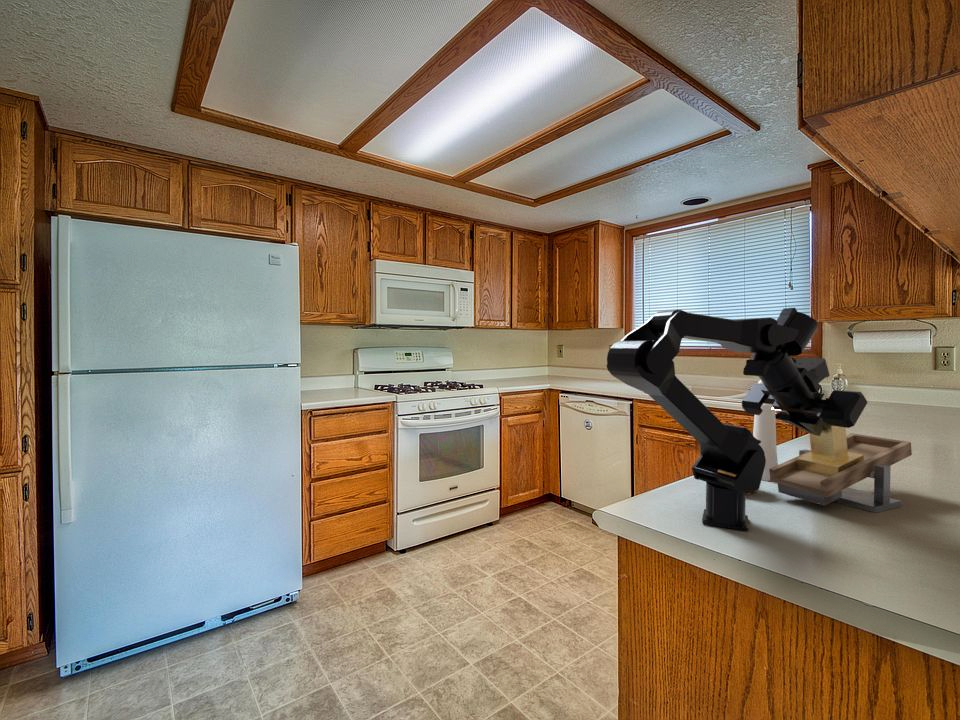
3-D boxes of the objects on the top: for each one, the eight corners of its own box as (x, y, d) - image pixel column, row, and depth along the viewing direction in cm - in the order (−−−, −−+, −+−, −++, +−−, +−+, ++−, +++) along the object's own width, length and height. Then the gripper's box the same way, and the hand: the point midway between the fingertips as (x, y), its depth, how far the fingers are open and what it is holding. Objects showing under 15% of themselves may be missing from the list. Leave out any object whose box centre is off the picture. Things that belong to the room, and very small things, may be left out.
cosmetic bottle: (786, 478, 100) (788, 377, 99) (768, 482, 97) (770, 378, 97) (759, 472, 106) (760, 375, 105) (741, 475, 103) (743, 376, 102)
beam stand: (875, 512, 80) (876, 469, 79) (787, 488, 93) (788, 451, 93) (901, 506, 83) (902, 464, 83) (812, 483, 97) (813, 447, 96)
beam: (831, 509, 78) (829, 483, 78) (769, 490, 88) (767, 468, 88) (915, 465, 88) (913, 442, 88) (851, 453, 98) (849, 432, 98)
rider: (838, 478, 82) (833, 423, 81) (798, 468, 89) (792, 418, 88) (864, 465, 85) (859, 412, 84) (823, 457, 92) (818, 408, 91)
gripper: (861, 341, 74) (899, 407, 79) (752, 342, 91) (788, 396, 96) (830, 393, 71) (871, 457, 76) (723, 384, 88) (761, 437, 93)
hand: (818, 433), depth 85 cm, fingers closed
